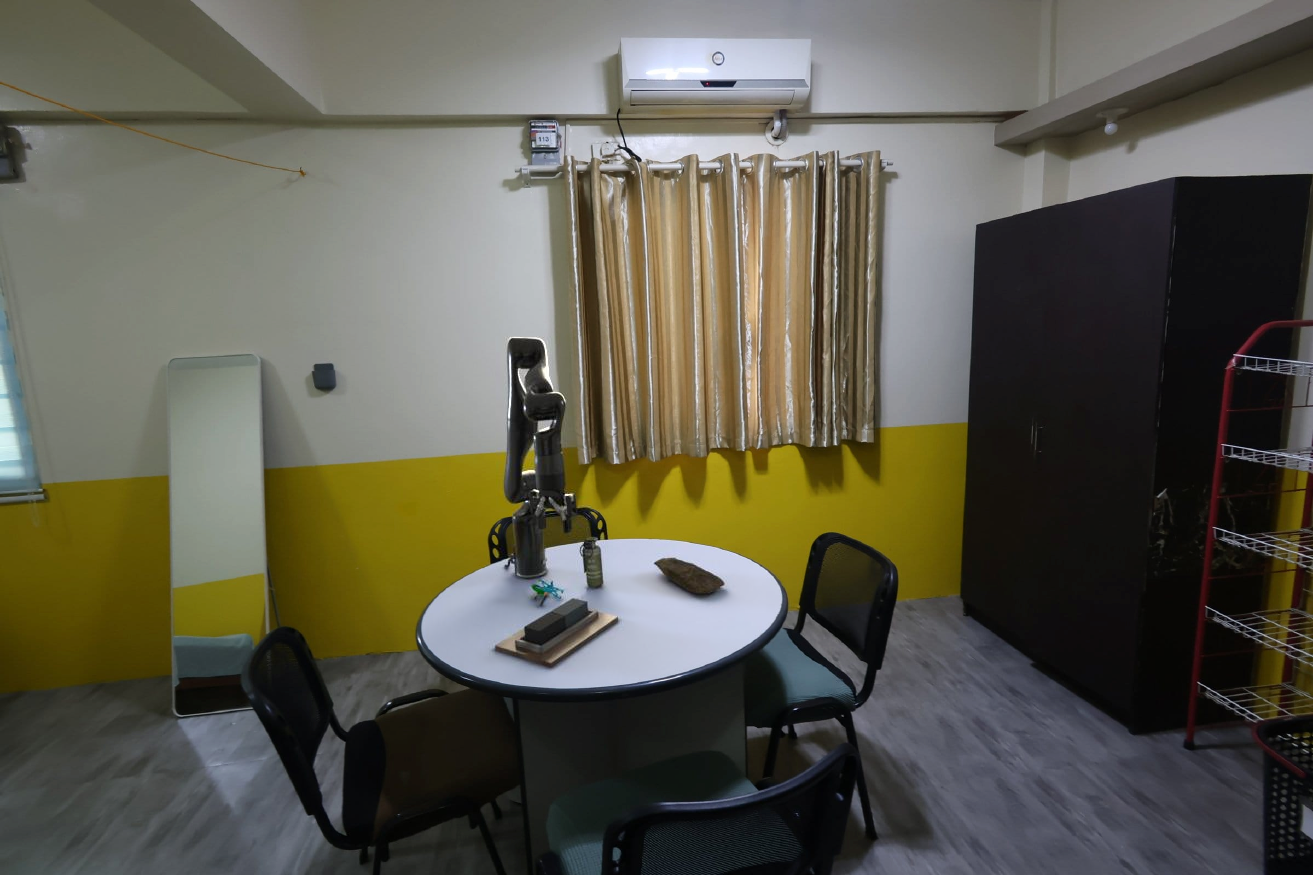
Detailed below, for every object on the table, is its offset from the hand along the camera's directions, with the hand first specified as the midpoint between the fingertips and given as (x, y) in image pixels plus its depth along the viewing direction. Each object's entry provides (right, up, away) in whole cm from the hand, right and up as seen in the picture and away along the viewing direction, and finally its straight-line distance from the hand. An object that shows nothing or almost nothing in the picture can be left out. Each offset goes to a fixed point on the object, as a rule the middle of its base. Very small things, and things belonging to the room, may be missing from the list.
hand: (554, 530), depth 160 cm
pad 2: (+4, -23, -2) cm, 24 cm away
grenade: (+8, -20, +23) cm, 32 cm away
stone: (+35, -19, +22) cm, 46 cm away
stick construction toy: (-6, -22, +15) cm, 28 cm away
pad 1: (-1, -25, -10) cm, 27 cm away
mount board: (+2, -25, -6) cm, 26 cm away
